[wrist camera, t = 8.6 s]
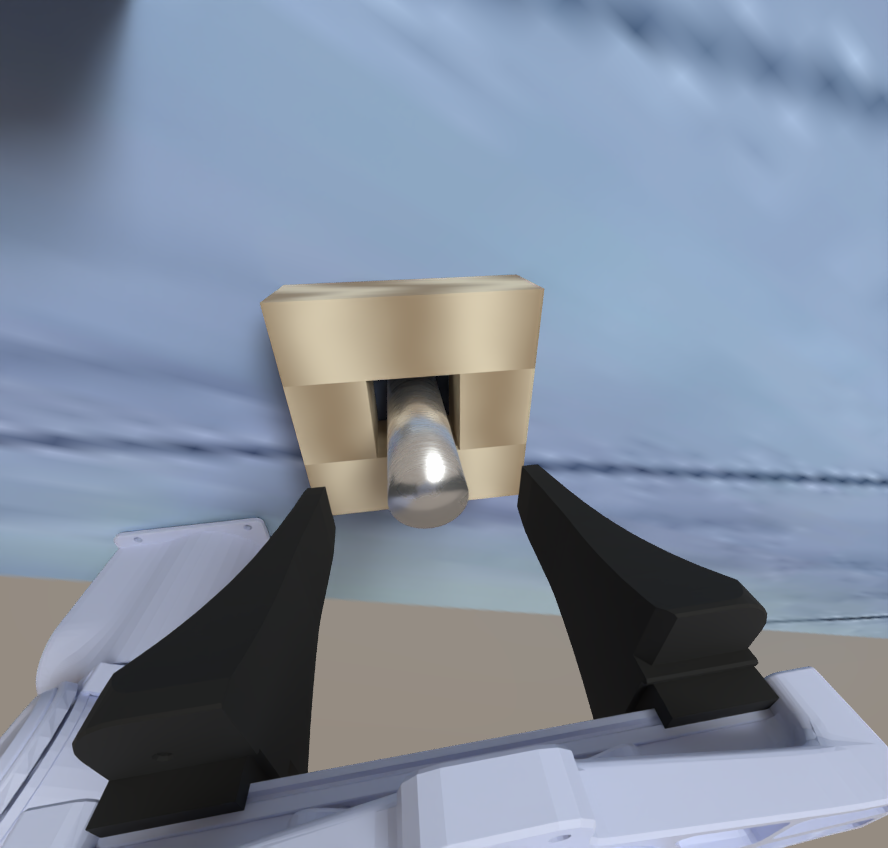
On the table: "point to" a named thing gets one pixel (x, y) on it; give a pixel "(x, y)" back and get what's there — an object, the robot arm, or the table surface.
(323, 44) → the table surface
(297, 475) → the table surface
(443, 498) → the peg
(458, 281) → the knuckle block
